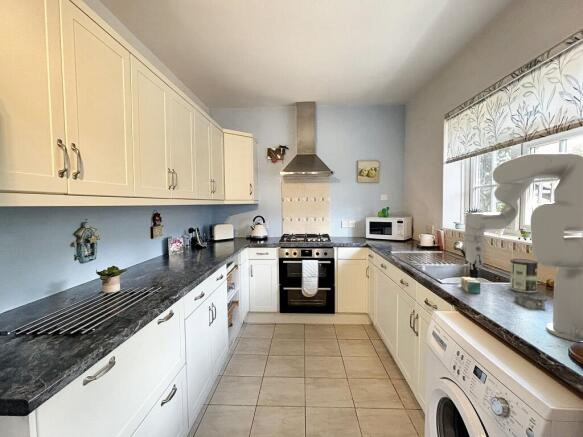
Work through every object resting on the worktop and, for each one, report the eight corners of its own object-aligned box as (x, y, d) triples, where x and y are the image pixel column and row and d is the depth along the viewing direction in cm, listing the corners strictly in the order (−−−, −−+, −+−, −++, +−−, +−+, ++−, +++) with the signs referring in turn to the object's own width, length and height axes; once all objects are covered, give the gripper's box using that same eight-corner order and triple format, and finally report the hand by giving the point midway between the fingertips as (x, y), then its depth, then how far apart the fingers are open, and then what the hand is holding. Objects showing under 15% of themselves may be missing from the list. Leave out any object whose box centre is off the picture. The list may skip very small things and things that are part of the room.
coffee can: (534, 288, 140) (535, 259, 140) (539, 294, 132) (540, 263, 131) (508, 285, 146) (509, 257, 145) (510, 290, 137) (511, 261, 136)
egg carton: (548, 310, 113) (548, 299, 113) (527, 309, 114) (528, 299, 114) (529, 300, 124) (529, 291, 123) (510, 300, 125) (510, 291, 124)
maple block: (480, 282, 134) (472, 277, 143) (468, 282, 135) (461, 276, 145) (480, 293, 134) (472, 287, 144) (468, 292, 135) (461, 286, 145)
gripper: (490, 241, 126) (489, 282, 127) (477, 237, 141) (476, 274, 142) (471, 240, 128) (470, 281, 129) (460, 236, 143) (459, 273, 144)
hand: (473, 277), depth 135 cm, fingers closed
